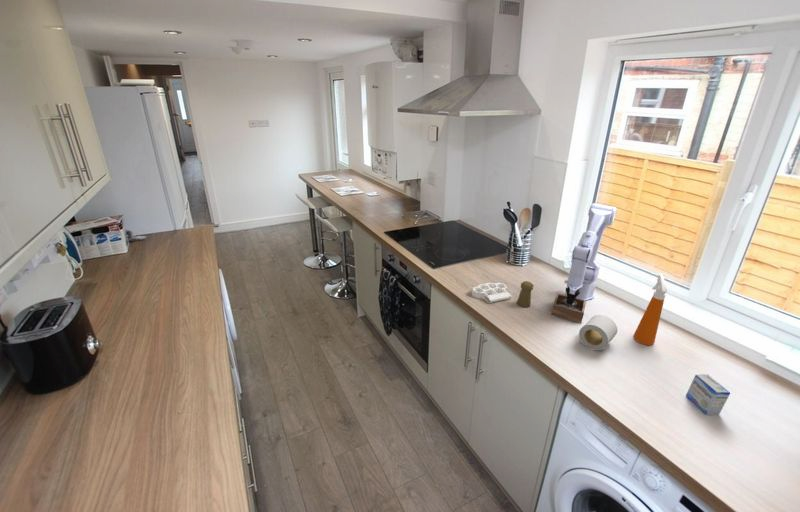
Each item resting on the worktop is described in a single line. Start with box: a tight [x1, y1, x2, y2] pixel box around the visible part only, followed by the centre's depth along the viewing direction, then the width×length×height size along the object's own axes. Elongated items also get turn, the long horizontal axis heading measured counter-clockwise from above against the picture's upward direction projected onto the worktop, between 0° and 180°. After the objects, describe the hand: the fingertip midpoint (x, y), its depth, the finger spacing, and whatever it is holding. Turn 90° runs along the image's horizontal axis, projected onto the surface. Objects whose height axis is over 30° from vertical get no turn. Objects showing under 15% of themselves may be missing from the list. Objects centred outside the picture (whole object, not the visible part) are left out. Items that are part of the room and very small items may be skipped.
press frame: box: [550, 293, 587, 324], centre depth 158 cm, size 12×12×5 cm
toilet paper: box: [578, 314, 618, 351], centre depth 138 cm, size 10×10×10 cm
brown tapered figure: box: [516, 280, 534, 309], centre depth 162 cm, size 6×6×11 cm
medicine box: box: [685, 373, 731, 416], centre depth 110 cm, size 8×4×9 cm, turn 5°
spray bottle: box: [632, 273, 668, 346], centre depth 139 cm, size 7×11×26 cm, turn 161°
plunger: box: [557, 299, 581, 311], centre depth 158 cm, size 9×9×6 cm
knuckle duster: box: [471, 282, 512, 304], centre depth 172 cm, size 3×18×15 cm
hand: (570, 302), depth 157 cm, fingers closed on plunger, 3 cm apart
